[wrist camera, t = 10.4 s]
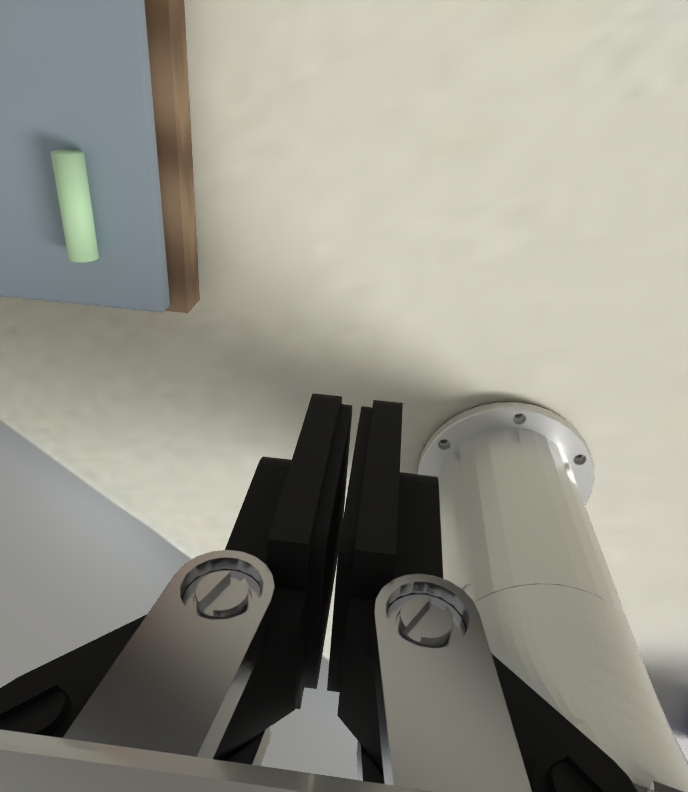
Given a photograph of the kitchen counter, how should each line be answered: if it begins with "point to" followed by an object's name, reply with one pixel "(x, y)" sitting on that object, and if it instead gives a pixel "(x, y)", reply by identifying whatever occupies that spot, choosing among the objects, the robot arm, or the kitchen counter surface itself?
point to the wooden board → (174, 147)
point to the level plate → (89, 111)
